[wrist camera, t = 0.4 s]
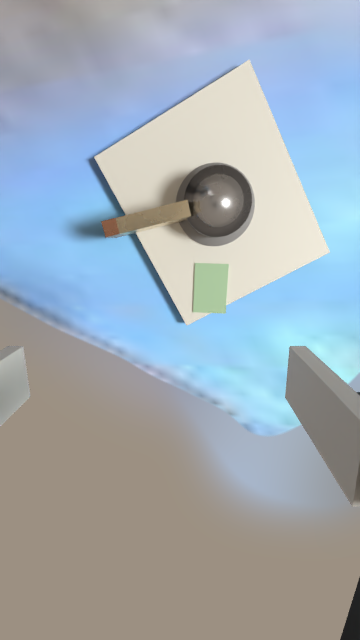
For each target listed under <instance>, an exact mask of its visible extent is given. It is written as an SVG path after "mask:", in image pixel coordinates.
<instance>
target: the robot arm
mask: <svg viewBox="0 0 360 640" xmlns="http://www.w3.org/2000/svg"><path fill="white" fill-rule="evenodd" d="M29 397H30V391H29V384H28V377H27V370H26V363H25V356H24V349H23V346H8V347H6V348H4V349H3V350H1V351H0V426H1V425H2V424H3V423H4V422H5V421H6V420H7V419H8V418H9V417H10V416H11V415H12V414H13V413H14V412H15V411H16V410H17V409H18V408H19V407H20V406H21V405H22V404H23V403H24V402H25V401H26V400H27V399H28V398H29ZM285 398H286V400H287V401H288V403H289V404H290V406H291V408H292V409H293V411H294V413H295V414H296V416H297V417H298V419H299V421H300V422H301V424H302V426H303V427H304V429H305V430H306V432H307V434H308V435H309V437H310V438H311V440H312V442H313V443H314V445H315V447H316V448H317V450H318V452H319V453H320V455H321V456H322V458H323V460H324V461H325V463H326V464H327V466H328V468H329V469H330V471H331V473H332V474H333V476H334V478H335V479H336V481H337V482H338V484H339V485H340V487H341V489H342V490H343V492H344V494H345V495H346V497H347V499H348V500H349V502H350V504H351V505H352V506H353V507H355V506H356V507H360V392H355V391H354V390H353V389H352V388H351V387H350V386H349V385H348V384H347V383H345V382H344V381H343V380H342V379H341V378H340V377H339V376H338V375H337V374H336V373H334V372H333V371H332V370H331V369H330V368H329V367H328V366H327V365H326V364H325V363H323V362H322V361H321V360H320V359H319V358H318V357H317V356H316V355H315V354H314V353H312V352H311V351H310V350H309V349H308V348H307V347H306V346H290V348H289V359H288V371H287V383H286V395H285ZM340 640H360V578H359V581H358V584H357V588H356V591H355V594H354V597H353V600H352V604H351V607H350V610H349V613H348V617H347V620H346V623H345V626H344V629H343V633H342V636H341V639H340Z"/></svg>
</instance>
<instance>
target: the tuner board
mask: <svg viewBox="0 0 360 640" xmlns="http://www.w3.org/2000/svg"><path fill="white" fill-rule="evenodd" d="M94 158H95V160H96V162H97V163H98V165H99V167H100V169H101V171H102V172H103V174H104V176H105V178H106V180H107V182H108V183H109V185H110V187H111V189H112V191H113V192H114V194H115V196H116V198H117V200H118V202H119V203H120V205H121V207H122V209H123V211H124V212H125V214H126V215H129V214H133V213H137V212H141V211H145V210H148V209H152V208H156V207H160V206H164V205H168V204H172V203H176V202H180V201H184V195H185V191H186V188H187V186H188V184H189V182H190V180H191V179H192V178H193V177H194V175H195V174H197V173H198V172H199V171H200V170H202V169H204V168H206V167H209V166H212V165H226V166H230V167H232V168H234V169H236V170H237V171H239V172H240V173H241V174H242V175H243V176H244V177H245V179H246V180H247V182H248V184H249V186H250V189H251V193H252V206H251V210H250V213H249V216H248V218H247V220H246V221H245V223H244V224H243V225H242V226H241V227H240V228H239V229H238V230H237V231H235V232H234V233H232V234H229V235H227V236H223V237H207V236H204V235H202V234H200V233H198V232H197V231H195V230H194V229H193V228H192V226H191V225H190V224H189V222H188V220H185V221H181V222H177V223H173V224H169V225H165V226H161V227H157V228H153V229H149V230H145V231H141V232H137V233H136V234H137V236H138V238H139V240H140V241H141V243H142V245H143V247H144V249H145V251H146V252H147V254H148V256H149V258H150V260H151V261H152V263H153V265H154V267H155V269H156V271H157V272H158V274H159V276H160V278H161V280H162V281H163V283H164V285H165V287H166V289H167V291H168V292H169V294H170V296H171V298H172V300H173V301H174V303H175V305H176V307H177V309H178V311H179V312H180V314H181V316H182V318H183V320H184V321H185V323H186V325H189V324H190V323H192V322H194V321H196V320H198V319H200V318H202V317H204V316H206V315H208V314H210V313H226V305H228V304H230V303H232V302H234V301H236V300H237V299H239V298H241V297H243V296H245V295H247V294H249V293H251V292H253V291H255V290H257V289H259V288H261V287H263V286H265V285H267V284H269V283H271V282H273V281H275V280H277V279H279V278H281V277H283V276H284V275H286V274H288V273H290V272H292V271H294V270H296V269H298V268H300V267H302V266H304V265H306V264H308V263H310V262H312V261H314V260H316V259H318V258H320V257H322V256H324V255H326V254H328V253H329V249H328V247H327V245H326V242H325V240H324V237H323V235H322V233H321V230H320V228H319V225H318V223H317V221H316V218H315V216H314V213H313V211H312V209H311V206H310V204H309V201H308V199H307V197H306V194H305V192H304V189H303V187H302V185H301V182H300V180H299V177H298V175H297V173H296V170H295V168H294V165H293V163H292V161H291V158H290V156H289V153H288V151H287V149H286V146H285V144H284V141H283V139H282V137H281V134H280V132H279V130H278V127H277V125H276V122H275V120H274V118H273V115H272V113H271V110H270V108H269V106H268V103H267V101H266V98H265V96H264V94H263V91H262V89H261V86H260V84H259V82H258V79H257V77H256V74H255V72H254V70H253V67H252V65H251V62H250V60H248V61H246V62H245V63H243V64H242V65H240V66H238V67H237V68H235V69H234V70H232V71H231V72H229V73H227V74H226V75H224V76H223V77H221V78H219V79H218V80H216V81H215V82H213V83H211V84H210V85H208V86H207V87H205V88H203V89H202V90H200V91H199V92H197V93H195V94H194V95H192V96H191V97H189V98H187V99H186V100H184V101H183V102H181V103H179V104H178V105H176V106H175V107H173V108H171V109H170V110H168V111H167V112H165V113H164V114H162V115H160V116H159V117H157V118H156V119H154V120H152V121H151V122H149V123H148V124H146V125H144V126H143V127H141V128H140V129H138V130H136V131H135V132H133V133H132V134H130V135H128V136H127V137H125V138H124V139H122V140H120V141H119V142H117V143H116V144H114V145H112V146H111V147H109V148H108V149H106V150H105V151H103V152H101V153H100V154H98V155H97V156H95V157H94Z"/></svg>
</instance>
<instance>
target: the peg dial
mask: <svg viewBox="0 0 360 640" xmlns="http://www.w3.org/2000/svg"><path fill="white" fill-rule="evenodd" d="M251 206H252V193H251V189H250V186H249V184H248V182H247V180H246V179H245V177H244V176H243V175H242V174H241V173H240V172H239V171H237V170H236V169H234V168H232V167H230V166H226V165H212V166H209V167H206V168H204V169H202V170H200V171H199V172H198V173H197V174H195V175H194V177H193V178H192V179H191V180H190V182H189V184H188V186H187V188H186V191H185V195H184V201H180V202H176V203H172V204H168V205H164V206H160V207H156V208H152V209H148V210H145V211H141V212H137V213H133V214H129V215H125V216H121V217H117V218H113V219H109V220H105V221H101V222H102V226H103V229H104V233H105V237H108V238H117V237H121V236H125V235H129V234H133V233H137V232H141V231H145V230H149V229H153V228H157V227H161V226H165V225H169V224H173V223H177V222H181V221H185V220H188V222H189V224H190V225H191V226H192V228H193V229H194V230H195V231H197V232H198V233H200V234H202V235H204V236H207V237H223V236H227V235H229V234H232V233H234V232H235V231H237V230H238V229H239V228H240V227H241V226H242V225H243V224H244V223H245V221H246V220H247V218H248V216H249V213H250V210H251Z"/></svg>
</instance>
